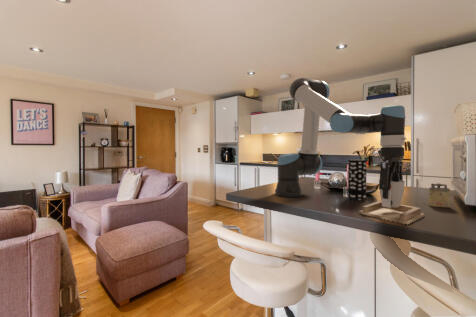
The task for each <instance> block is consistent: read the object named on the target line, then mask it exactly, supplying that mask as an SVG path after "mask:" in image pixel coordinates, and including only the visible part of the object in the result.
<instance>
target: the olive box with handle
mask: <svg viewBox="0 0 476 317" xmlns="http://www.w3.org/2000/svg"><path fill="white" fill-rule="evenodd" d="M436 186H437V187H436ZM447 186H448V184H445V183H444V184H443V183H440V182H439V183H438V182H437V183H431V184H430V187H429V188H428V206H430V207H437V208H450V207H451V203H450V202H451V188H448V187H447Z"/></svg>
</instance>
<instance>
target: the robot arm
mask: <svg viewBox="0 0 476 317" xmlns="http://www.w3.org/2000/svg"><path fill="white" fill-rule="evenodd" d="M330 92H331V90H330V86H329V84H328V83H327V82H325V81H324V80H321V79H314V78H306V77H305V78H304V77H299V78H297V79H295V80H293V82H292V83H291V84H290V87H289V95H290V97H291V99H293V100H294V101H295V102H296V103H300V104H301V106H303V108H304V111H303V123H302V134H301V135H302V136H301V149H299V150H298V153H296V152H294V153H285V154H281V155H279V156H278V158H277V183H276V188H275V190H274V192H275V193H274V195H275V196H277V197H281V198H298V197H299V198H300V197H302V196H303V190H302V187H301V184H300V176H312V175H316V174H318V173H320V171H321V170H322V168H323V164H324V163H323V160H322V157H321V156H320V152H319V151H318V149H317V148H318V140H319V129H320V128H319V126H320V118H322V119H324V120H325V121H326V122H327V123H328V124H329V127H330V129H331V130H332V131H333V132H335V133H341V134H346V133H347V134H351V133H352V134H356V135H357V134H359V135H362V134H363V135H365V134H373V133H380V138H379V139H380V140H379V141H380V142H379V144H380V149H379V150H380V151H379V152H380V153H379V155H380V157H381V158H384V160H383V161H384V162H380V163H379V165H380V166H379V167H380V170H379V171H380V172H379V173H380V174H379V179H380V181H379V180H378V190H379V189H381V190H382V200H381V201H382V206H383V207H388V208H391V190H390V185H391V180H392V181H393V182H399V180H403V178H404V177H403V162H404V161H403V160H400V159H399V158H404V157H405V147H403V146H405V141H406V140H407V137H405V136H406V135H405V130H406V129H405V127H406V126H405V125H406V110H405V107H404V105H399V104H396V105H394V104H393V105H388V106H384V107H381V109H380V112H379V113H375V114H368V115H367V114H356V113H355V114H354V113H353V114H352V113H350V112H348V111H347V110H345V109H344V108H342V107H341V106H339V105H338V104H336V103H334V102H332V101H330V100H329V99H328V98H329V97H330ZM403 181H404V180H403Z"/></svg>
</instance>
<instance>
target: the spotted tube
mask: <svg viewBox="0 0 476 317" xmlns="http://www.w3.org/2000/svg"><path fill="white" fill-rule="evenodd" d="M367 164H368V162H367V159H347V170H348V171H347V173H348V174H347V198H348V199H349V200H355V201H365V200H366V199H367V169H368V168H367V166H368V165H367Z"/></svg>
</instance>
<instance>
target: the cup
mask: <svg viewBox="0 0 476 317" xmlns="http://www.w3.org/2000/svg"><path fill="white" fill-rule="evenodd" d="M379 181H380V178H379V179H378V182H379ZM405 183H406V181H405V180H399V182H393V181H392V180H391V185H390V190H391V207H399V205H401V203H402V201H403V197H404V192H405V185H406V184H405ZM378 190H379V196H380V201H382V190H381V189H379V188H378Z"/></svg>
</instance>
